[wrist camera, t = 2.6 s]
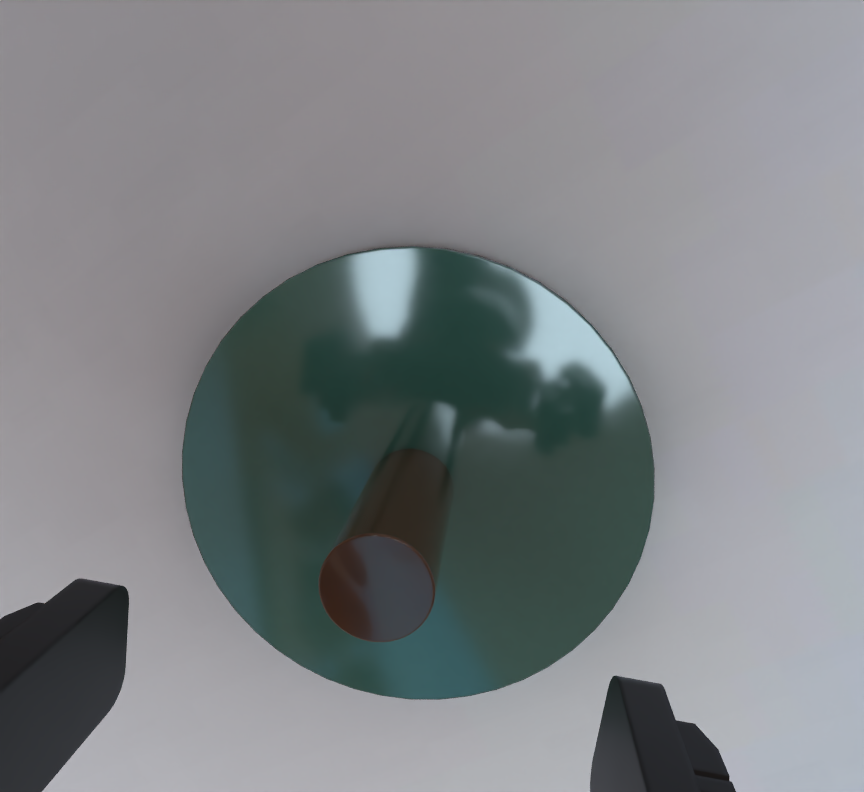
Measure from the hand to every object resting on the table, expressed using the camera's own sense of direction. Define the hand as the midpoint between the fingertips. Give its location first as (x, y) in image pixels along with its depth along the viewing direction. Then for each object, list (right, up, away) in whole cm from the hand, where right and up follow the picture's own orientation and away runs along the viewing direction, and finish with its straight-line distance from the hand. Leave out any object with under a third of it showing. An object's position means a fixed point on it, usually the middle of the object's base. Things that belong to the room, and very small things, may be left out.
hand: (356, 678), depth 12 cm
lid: (+1, +2, +9) cm, 10 cm away
